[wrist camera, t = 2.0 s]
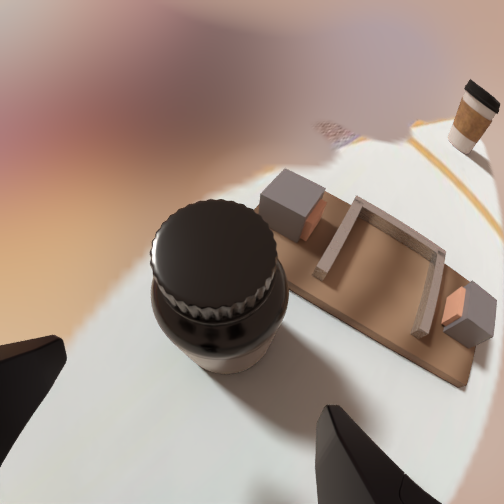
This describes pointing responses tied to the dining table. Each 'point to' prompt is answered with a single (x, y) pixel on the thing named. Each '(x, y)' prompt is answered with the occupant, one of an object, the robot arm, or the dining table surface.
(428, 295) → the walnut rail
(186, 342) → the supplement bottle
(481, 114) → the coffee cup
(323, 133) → the dining table surface
